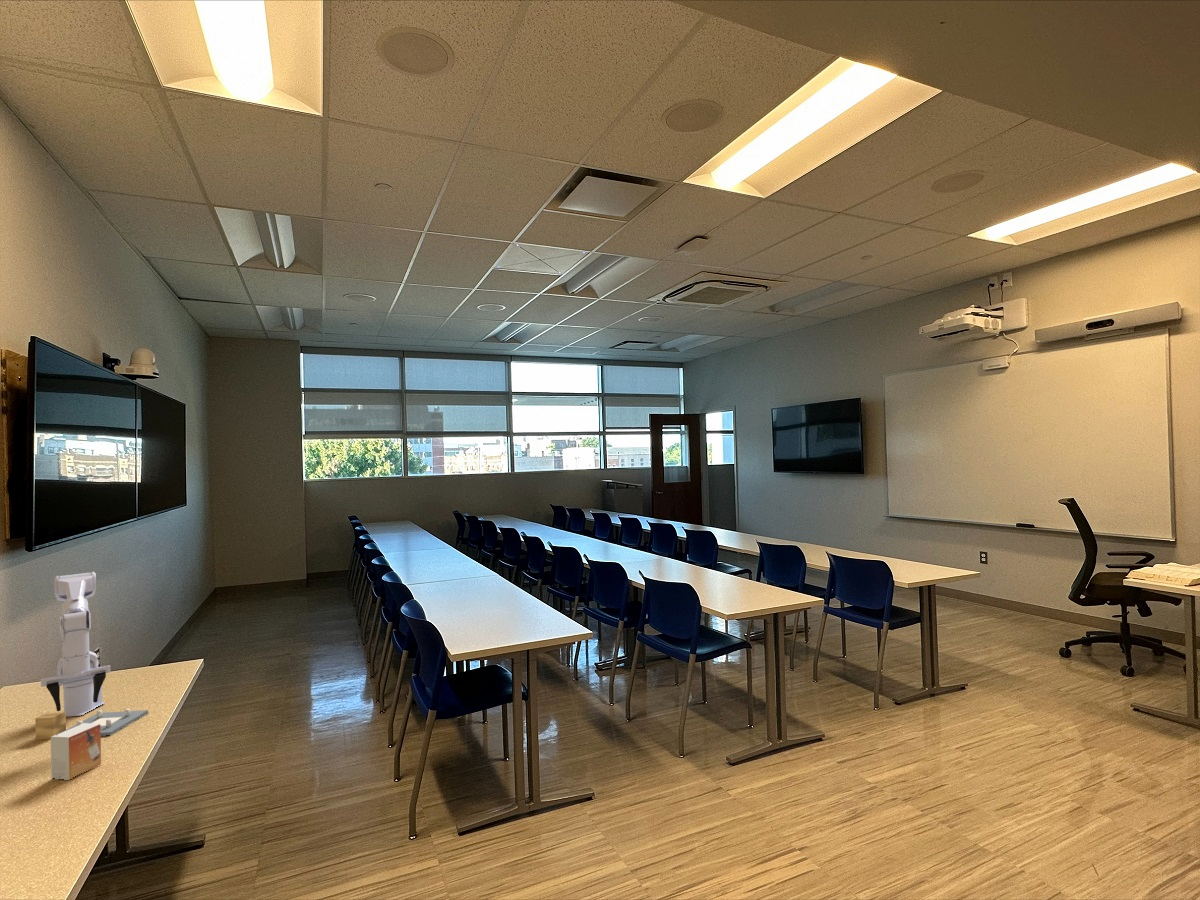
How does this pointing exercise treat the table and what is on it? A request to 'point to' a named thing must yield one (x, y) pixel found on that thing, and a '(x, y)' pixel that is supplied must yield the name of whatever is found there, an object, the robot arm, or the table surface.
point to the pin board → (112, 720)
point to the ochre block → (50, 724)
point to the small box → (75, 751)
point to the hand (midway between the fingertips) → (77, 706)
